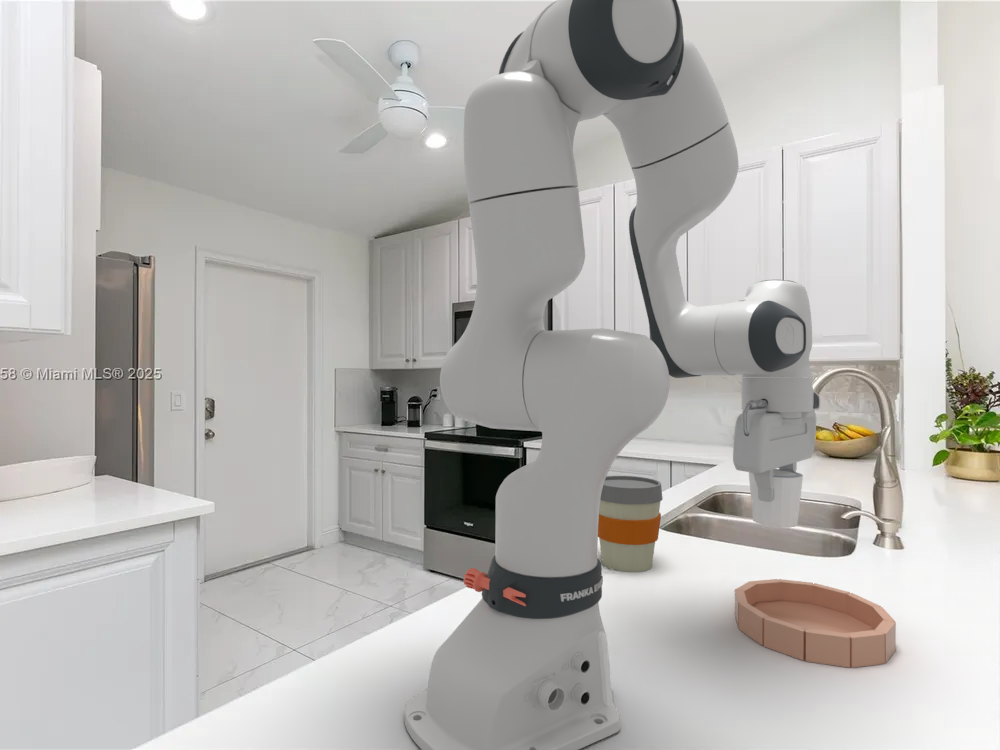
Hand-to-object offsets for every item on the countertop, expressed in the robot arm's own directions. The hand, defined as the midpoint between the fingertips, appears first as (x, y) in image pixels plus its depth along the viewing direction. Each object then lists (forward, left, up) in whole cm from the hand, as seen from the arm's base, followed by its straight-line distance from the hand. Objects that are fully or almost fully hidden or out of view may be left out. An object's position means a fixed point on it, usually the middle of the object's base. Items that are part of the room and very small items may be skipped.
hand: (775, 497), depth 76 cm
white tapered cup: (0, 0, -4) cm, 4 cm away
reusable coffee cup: (+4, +28, -18) cm, 33 cm away
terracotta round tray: (0, -4, -17) cm, 18 cm away
